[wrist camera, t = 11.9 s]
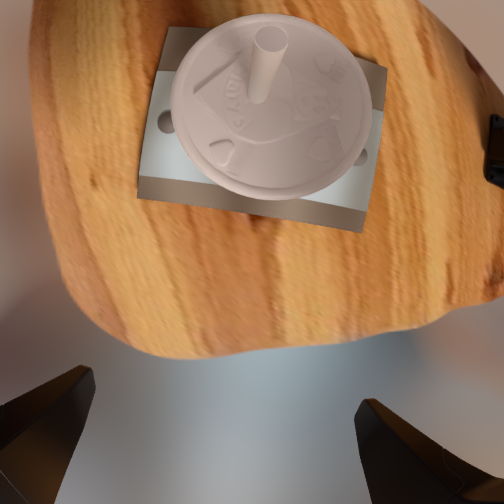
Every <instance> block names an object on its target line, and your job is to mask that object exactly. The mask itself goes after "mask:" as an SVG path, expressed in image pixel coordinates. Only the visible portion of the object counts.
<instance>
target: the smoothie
mask: <svg viewBox="0 0 504 504" xmlns="http://www.w3.org/2000/svg"><path fill="white" fill-rule="evenodd" d="M171 116H172V122H173V126H174V129H175V133H176V135H177V138H178V140H179V142H180V144H181V146H182V148H183V150H184V151H185V153H186V154H187V156H188V157H189V159H190V160H191V161H192V162H193V163H194V165H195V166H196V167H197V168H198V169H199V170H200V171H201V172H202V173H203V174H205V175H206V176H207V177H208V178H210V179H211V180H212V181H214V182H215V183H217V184H218V185H220V186H222V187H224V188H226V189H228V190H230V191H232V192H235V193H237V194H240V195H243V196H246V197H251V198H255V199H262V200H290V199H296V198H300V197H304V196H308V195H310V194H313V193H316V192H318V191H320V190H322V189H324V188H326V187H328V186H329V185H331V184H333V183H334V182H335V181H337V180H338V179H339V178H341V177H342V176H343V175H344V174H345V173H346V172H347V171H348V170H349V169H350V168H351V167H352V165H353V164H354V163H355V162H356V160H357V159H358V157H359V156H360V154H361V152H362V150H363V149H364V146H365V144H366V141H367V139H368V135H369V132H370V127H371V121H372V101H371V94H370V89H369V86H368V83H367V80H366V77H365V75H364V73H363V70H362V69H361V67H360V65H359V63H358V62H357V60H356V59H355V57H354V56H353V54H352V53H351V52H350V51H349V50H348V48H347V47H346V46H345V45H344V44H343V43H342V42H341V41H339V40H338V39H337V38H336V37H335V36H333V35H332V34H331V33H329V32H328V31H326V30H325V29H323V28H321V27H319V26H318V25H316V24H313V23H311V22H309V21H306V20H303V19H301V18H297V17H293V16H289V15H283V14H271V13H269V14H253V15H247V16H242V17H239V18H236V19H233V20H230V21H228V22H225V23H223V24H221V25H219V26H217V27H215V28H214V29H212V30H211V31H209V32H208V33H206V34H205V35H204V36H203V37H201V38H200V39H199V40H198V41H197V42H196V43H195V44H194V45H193V46H192V48H191V49H190V50H189V51H188V52H187V54H186V55H185V57H184V58H183V60H182V62H181V64H180V66H179V68H178V70H177V72H176V75H175V78H174V82H173V85H172V91H171Z"/></svg>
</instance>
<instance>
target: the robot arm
mask: <svg viewBox="0 0 504 504" xmlns="http://www.w3.org/2000/svg"><path fill="white" fill-rule="evenodd" d="M485 177H486V180H487V181H488V182H489V183H491V184H493V185H495V186H497V187H499V188H501V189H503V190H504V119H503V118H502V117H500V116H499V115H498V114H492V115H491V122H490V138H489V150H488V159H487V167H486V175H485ZM95 390H96V385H95V380H94V374H93V370H92V368H91V367H88V366H84V365H79V366H77V367H75V368H73V369H71V370H69V371H67V372H65V373H63V374H61V375H60V376H58V377H56V378H54V379H52V380H50V381H48V382H46V383H44V384H42V385H40V386H38V387H36V388H34V389H33V390H30V391H29V392H27V393H25V394H23V395H21V396H19V397H17V398H15V399H13V400H11V401H9V402H7V403H5V404H4V405H1V406H0V504H54V502H55V499H56V497H57V494H58V491H59V488H60V486H61V483H62V480H63V478H64V475H65V473H66V470H67V468H68V465H69V463H70V460H71V458H72V455H73V452H74V450H75V448H76V446H77V443H78V441H79V439H80V436H81V434H82V432H83V429H84V426H85V423H86V420H87V416H88V413H89V410H90V407H91V403H92V400H93V397H94V394H95ZM354 422H355V429H356V435H357V442H358V448H359V455H360V459H361V463H362V466H363V470H364V474H365V478H366V482H367V486H368V489H369V493H370V497H371V501H372V504H504V479H502V478H497V477H494V476H492V475H490V474H488V473H486V472H483V471H482V470H480V469H478V468H476V467H474V466H472V465H471V464H469V463H467V462H465V461H463V460H462V459H460V458H458V457H457V456H455V455H454V454H452V453H451V452H449V451H448V450H446V449H443V447H442V446H440V445H439V444H438V443H436V442H435V441H433V440H432V439H430V438H429V437H427V436H426V435H425V434H423V433H422V432H420V431H419V430H418V429H416V428H415V427H413V426H412V425H411V424H409V423H408V422H406V421H405V420H403V419H402V418H401V417H399V416H398V415H396V414H395V413H394V412H392V411H391V410H390V409H388V408H387V407H386V406H384V405H383V404H382V403H380V402H379V401H378V400H376V399H374V398H370V399H364V400H363V401H362V402H361V404H360V406H359V408H358V410H357V412H356V414H355V417H354Z"/></svg>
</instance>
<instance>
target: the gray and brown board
mask: <svg viewBox="0 0 504 504" xmlns="http://www.w3.org/2000/svg"><path fill="white" fill-rule="evenodd" d="M212 29H213V28H198V27H169V29H168V33H167V36H166V40H165V44H164V47H163V51H162V55H161V59H160V63H159V67H158V71H157V74H156V78H155V83H154V87H153V92H152V97H151V102H150V107H149V112H148V118H147V123H146V129H145V135H144V141H143V148H142V155H141V162H140V170H139V182H138V192H137V198H139V199H147V200H155V201H163V202H171V203H179V204H186V205H193V206H201V207H208V208H215V209H222V210H228V211H235V212H242V213H248V214H254V215H261V216H267V217H273V218H279V219H285V220H291V221H297V222H303V223H309V224H314V225H320V226H326V227H331V228H337V229H342V230H347V231H353V232H358V233H362V229H363V225H364V220H365V216H366V212H367V209H368V205H369V200H370V195H371V190H372V185H373V179H374V174H375V168H376V162H377V156H378V150H379V144H380V137H381V130H382V123H383V115H384V112H383V110H384V101H385V91H386V81H387V69H388V68H385V67H383V66H380V65H377V64H375V63H372V62H369V61H366V60H363V59H360V58H357V57H355V59H356V60H357V62H358V63H359V65H360V67H361V69H362V70H363V73H364V75H365V77H366V80H367V83H368V86H369V89H370V94H371V101H372V121H371V127H370V132H369V135H368V139H367V141H366V144H365V146H364V149H363V150H362V152H361V154H360V156H359V157H358V159H357V160H356V162H355V163H354V164H353V165H352V167H351V168H350V169H349V170H348V171H347V172H346V173H345V174H344V175H343V176H342V177H341V178H339V179H338V180H337V181H335V182H334V183H333V184H331V185H329V186H328V187H326V188H324V189H322V190H320V191H318V192H316V193H313V194H310V195H308V196H304V197H300V198H296V199H290V200H262V199H255V198H251V197H246V196H243V195H240V194H237V193H235V192H232V191H230V190H228V189H226V188H224V187H222V186H220V185H218V184H217V183H215V182H214V181H212V180H211V179H210V178H208V177H207V176H206V175H205V174H203V173H202V172H201V171H200V170H199V169H198V168H197V167H196V166H195V165H194V163H193V162H192V161H191V160H190V159H189V157H188V156H187V154H186V153H185V151H184V150H183V148H182V146H181V144H180V142H179V140H178V138H177V135H176V133H175V129H174V126H173V122H172V116H171V91H172V85H173V82H174V78H175V75H176V72H177V70H178V68H179V66H180V64H181V62H182V60H183V58H184V57H185V55H186V54H187V52H188V51H189V50H190V49H191V48H192V46H193V45H194V44H195V43H196V42H197V41H198V40H199V39H200V38H201V37H203V36H204V35H205V34H206V33H208V32H209V31H211V30H212Z"/></svg>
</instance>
